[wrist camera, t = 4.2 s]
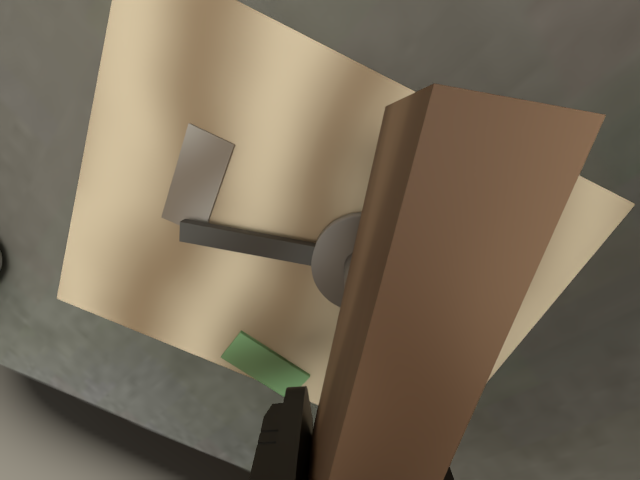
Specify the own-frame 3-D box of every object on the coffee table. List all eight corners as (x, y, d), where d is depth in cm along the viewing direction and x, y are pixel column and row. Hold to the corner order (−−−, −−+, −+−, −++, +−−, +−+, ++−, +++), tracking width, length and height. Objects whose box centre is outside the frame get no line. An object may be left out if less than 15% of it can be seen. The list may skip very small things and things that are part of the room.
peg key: (451, 128, 12) (708, 133, 4) (378, 373, 16) (420, 650, 8) (191, 81, 12) (-162, -27, 4) (182, 337, 16) (5, 572, 8)
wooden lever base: (558, 183, 18) (639, 205, 13) (410, 387, 23) (428, 456, 18) (187, -4, 16) (119, -61, 11) (118, 263, 21) (52, 303, 17)
